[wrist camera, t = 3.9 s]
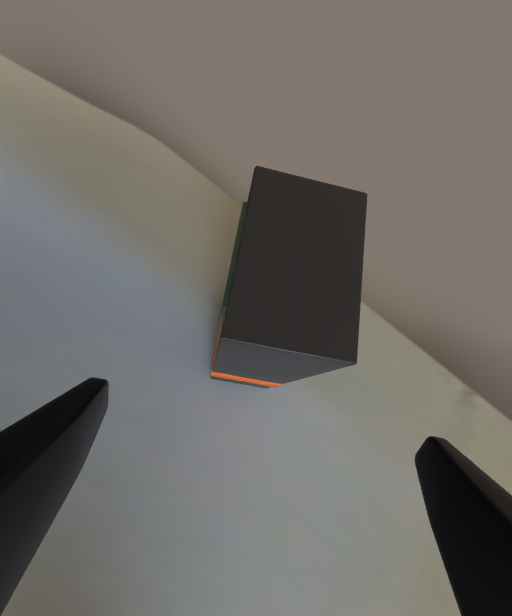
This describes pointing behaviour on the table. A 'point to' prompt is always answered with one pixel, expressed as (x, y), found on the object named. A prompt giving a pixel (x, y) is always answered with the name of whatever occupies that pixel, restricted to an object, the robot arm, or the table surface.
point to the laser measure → (292, 282)
